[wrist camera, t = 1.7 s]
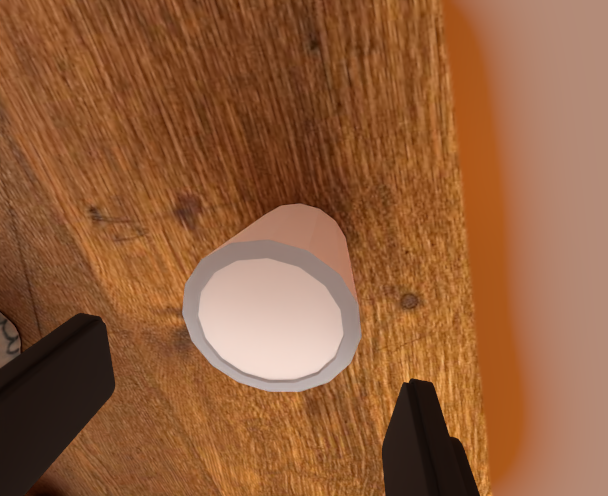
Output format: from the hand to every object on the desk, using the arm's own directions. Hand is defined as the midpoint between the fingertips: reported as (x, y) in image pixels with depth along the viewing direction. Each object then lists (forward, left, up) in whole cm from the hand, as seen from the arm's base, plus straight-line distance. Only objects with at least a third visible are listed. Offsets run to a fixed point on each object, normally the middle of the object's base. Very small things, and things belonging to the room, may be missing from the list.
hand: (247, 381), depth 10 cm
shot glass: (0, 0, -10) cm, 10 cm away
